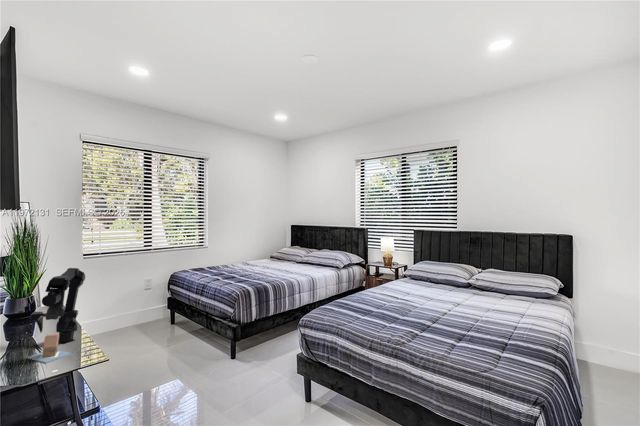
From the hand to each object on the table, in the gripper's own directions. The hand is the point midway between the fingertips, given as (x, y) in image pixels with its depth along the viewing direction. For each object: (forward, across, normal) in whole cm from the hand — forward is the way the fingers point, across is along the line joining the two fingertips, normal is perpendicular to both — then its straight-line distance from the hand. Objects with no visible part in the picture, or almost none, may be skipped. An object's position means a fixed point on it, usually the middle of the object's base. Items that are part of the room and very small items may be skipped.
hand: (52, 331), depth 161 cm
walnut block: (+12, 0, 0) cm, 12 cm away
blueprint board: (+13, 0, 0) cm, 13 cm away
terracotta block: (+7, 0, 0) cm, 7 cm away
